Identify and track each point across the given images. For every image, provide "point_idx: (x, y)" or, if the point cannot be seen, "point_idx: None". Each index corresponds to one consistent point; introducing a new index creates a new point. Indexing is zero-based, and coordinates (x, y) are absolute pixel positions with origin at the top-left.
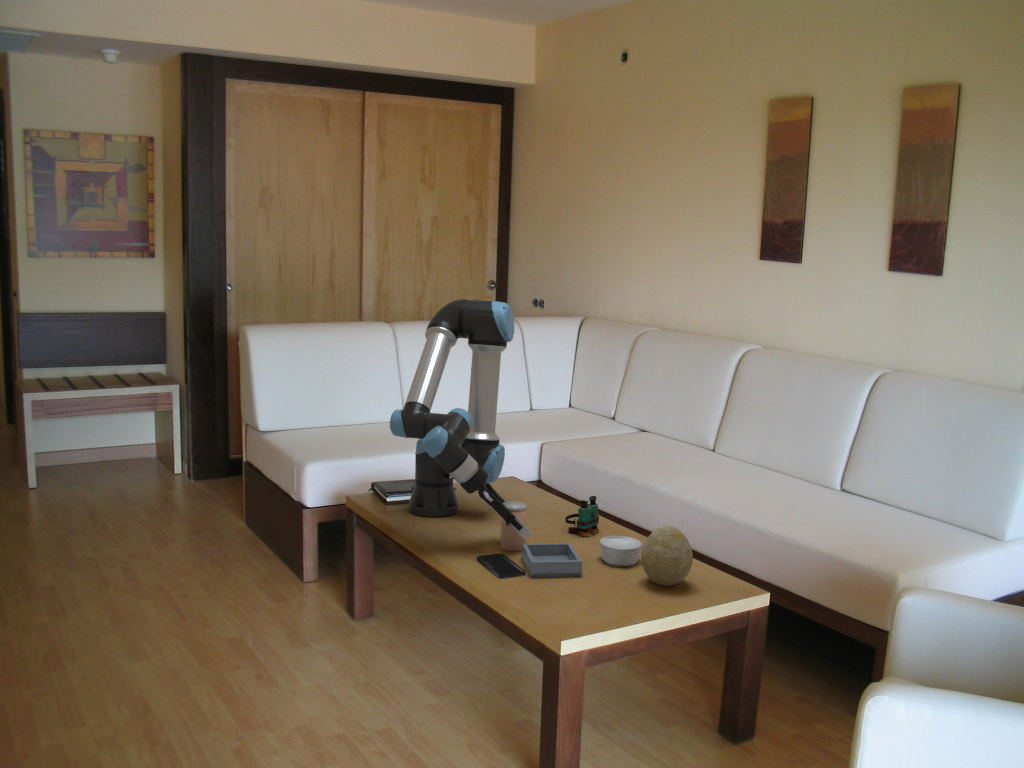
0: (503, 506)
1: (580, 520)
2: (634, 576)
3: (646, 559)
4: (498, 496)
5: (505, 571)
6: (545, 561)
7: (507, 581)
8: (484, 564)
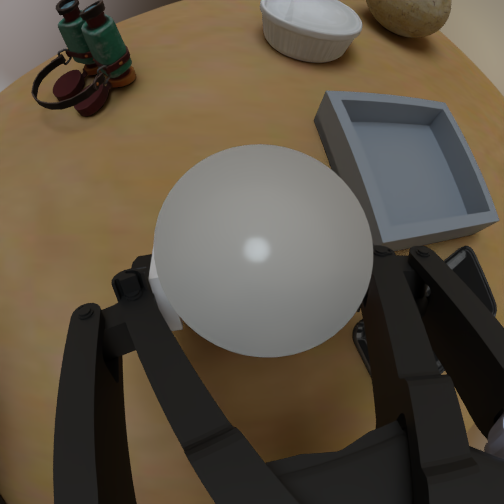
0: (489, 312)
1: (118, 55)
2: (382, 47)
3: (442, 21)
4: (445, 382)
5: None
6: (483, 184)
7: (499, 291)
8: (443, 370)
